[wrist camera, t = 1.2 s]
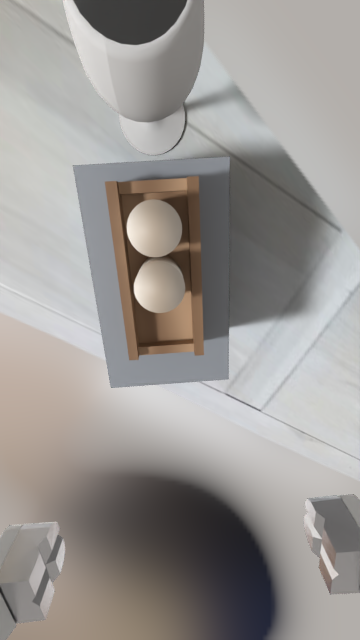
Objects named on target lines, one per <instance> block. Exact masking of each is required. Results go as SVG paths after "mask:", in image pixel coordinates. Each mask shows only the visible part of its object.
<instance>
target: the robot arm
mask: <svg viewBox="0 0 360 640" xmlns="http://www.w3.org/2000/svg"><path fill="white" fill-rule="evenodd" d="M305 508H306V510H307V513H306V515H305V516H304V529H305V534H306V537H307V540H308V543H309V545H310V548H311V550H312V551H313V552H314V553H315V554H316V555H317V556H318V557H319V558H320V561H319V569H320V571H321V574H322V576H323V579H324V581H325V583H326V586H327V588H328V590H329V593H330V594H347V593H360V500H359V499H358V497H357V496H355V495H354V494H348V495H340V496H337V495H333V496H325V497H315V498H307V499H306V501H305ZM59 529H60V528H59V525H58V523H57V522H47V523H33V524H19V525H9V526H8V527H7V528H6V529H5V530H4V531H3V533H2V535H1V536H0V640H6V639H7V638H8V636H9V635H10V634H11V633H12V631H13V630H14V628H15V627H16V623H25V622H32V621H40V620H46V617H47V614H48V611H49V607H50V604H51V601H52V598H53V595H54V592H55V591H54V587H53V582H54V580H55V579H56V578H57V577H58V576H59V574H60V573H61V570H62V566H63V563H64V556H65V543H64V540H63V538H62V537H61V536H59V535H58V532H59Z"/></svg>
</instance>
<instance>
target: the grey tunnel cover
mask: <svg viewBox="0 0 360 640" xmlns="http://www.w3.org/2000/svg"><path fill="white" fill-rule="evenodd" d="M73 169H74V175H75V181H76V187H77V193H78V199H79V204H80V210H81V216H82V222H83V228H84V234H85V239H86V245H87V251H88V257H89V263H90V269H91V275H92V280H93V286H94V292H95V298H96V304H97V310H98V315H99V321H100V327H101V333H102V339H103V345H104V351H105V356H106V362H107V368H108V374H109V380H110V385H111V388H115V387H130V386H144V385H157V384H171V383H185V382H198V381H212V380H225V379H229V217H230V157H212V158H195V159H177V160H160V161H142V162H124V163H107V164H89V165H73ZM192 176H199V203H200V237H201V271H202V305H203V339H204V355H199V356H195V354H194V352H181V353H167V354H153V355H139V360H129V355H128V348H127V340H126V333H125V326H124V319H123V311H122V304H121V297H120V289H119V282H118V275H117V268H116V260H115V253H114V246H113V239H112V231H111V224H110V217H109V210H108V202H107V195H106V188H105V182H106V181H117V182H127V181H144V180H161V179H179V178H187V177H192Z"/></svg>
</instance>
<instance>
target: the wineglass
mask: <svg viewBox="0 0 360 640" xmlns="http://www.w3.org/2000/svg"><path fill="white" fill-rule="evenodd" d="M63 4H64V8H65V12H66V16H67V20H68V24H69V27H70V30H71V33H72V37H73V40H74V43H75V46H76V48H77V51H78V54H79V57H80V60H81V62H82V65H83V68H84V70H85V73H86V74H87V76H88V78H89V79H90V81H91V83H92V85H93V86H94V88H95V90H96V91H97V93H98V94H99V95H100V97H101V98H102V99H103V100H104V101H105V102H106V103H107V104H108V105H109V106H110V107H111V108H112V109H113V110H114V111H116V112H117V113H119V120H120V126H121V129H122V131H123V134H124V136H125V137H126V139H127V141H128V142H129V143H130V144H131V145H132V146H133V147H134V148H135V149H136V150H138V151H140V152H141V153H144V154H147V155H159V154H163V153H165V152H167V151H169V150H171V149H172V148H173V147H174V146H175V145H176V144H177V142H178V141H179V139H180V138H181V135H182V132H183V130H184V123H185V110H184V106H183V103H184V101H185V100H186V98H187V97H188V95H189V93H190V92H191V90H192V88H193V86H194V83H195V80H196V78H197V75H198V72H199V68H200V64H201V58H202V52H203V45H204V0H63Z"/></svg>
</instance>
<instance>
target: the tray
mask: <svg viewBox="0 0 360 640" xmlns="http://www.w3.org/2000/svg"><path fill="white" fill-rule="evenodd" d="M105 188H106V195H107V202H108V210H109V217H110V224H111V231H112V239H113V246H114V253H115V260H116V268H117V275H118V282H119V289H120V297H121V304H122V311H123V319H124V326H125V333H126V340H127V348H128V355H129V360H139V355H153V354H167V353H181V352H194V354H195V356H199V355H204V339H203V305H202V271H201V237H200V203H199V176H192V177H187V178H179V179H161V180H144V181H127V182H117V181H106V182H105Z"/></svg>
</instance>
